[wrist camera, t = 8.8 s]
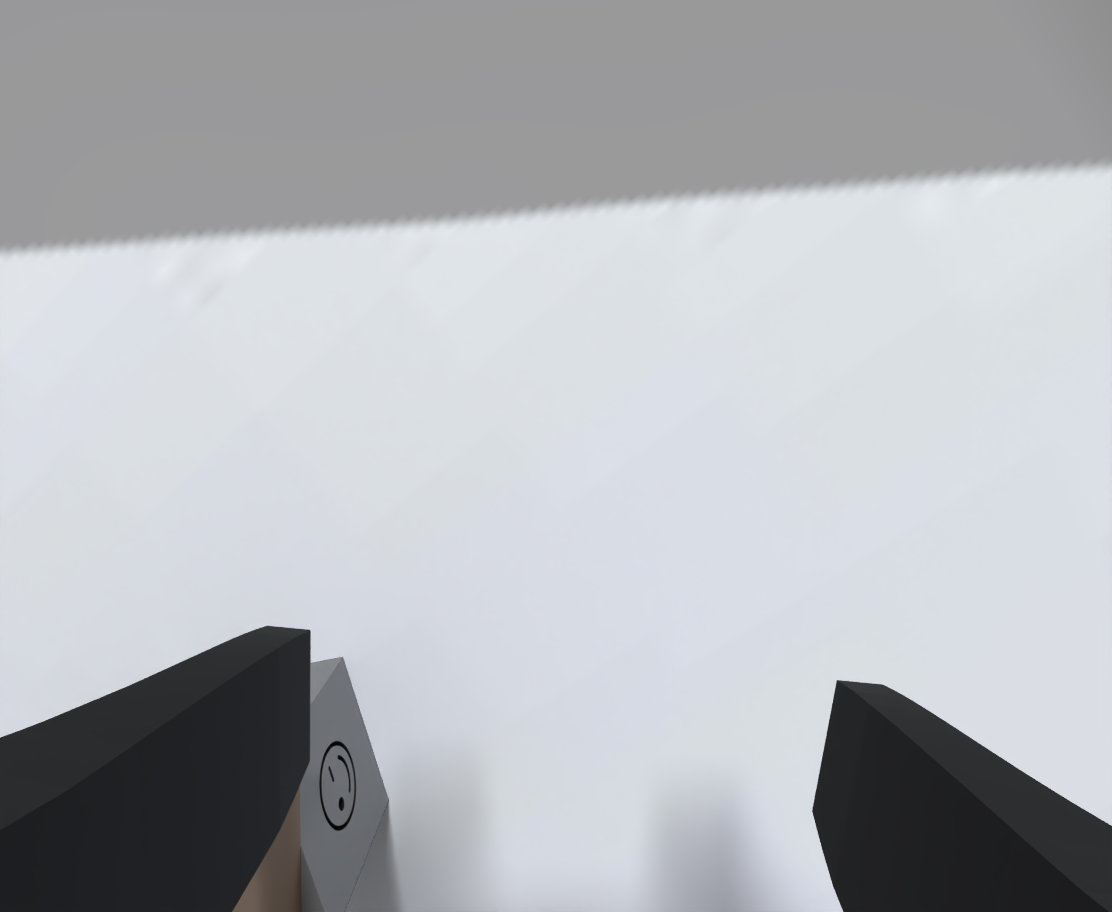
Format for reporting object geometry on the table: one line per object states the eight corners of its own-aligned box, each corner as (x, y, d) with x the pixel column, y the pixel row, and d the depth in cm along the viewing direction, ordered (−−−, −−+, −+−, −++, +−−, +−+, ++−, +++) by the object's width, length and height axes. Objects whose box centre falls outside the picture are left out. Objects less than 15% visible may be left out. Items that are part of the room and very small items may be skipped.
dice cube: (389, 798, 22) (334, 938, 18) (240, 823, 23) (146, 967, 18) (343, 655, 21) (271, 763, 16) (188, 685, 22) (73, 798, 17)
